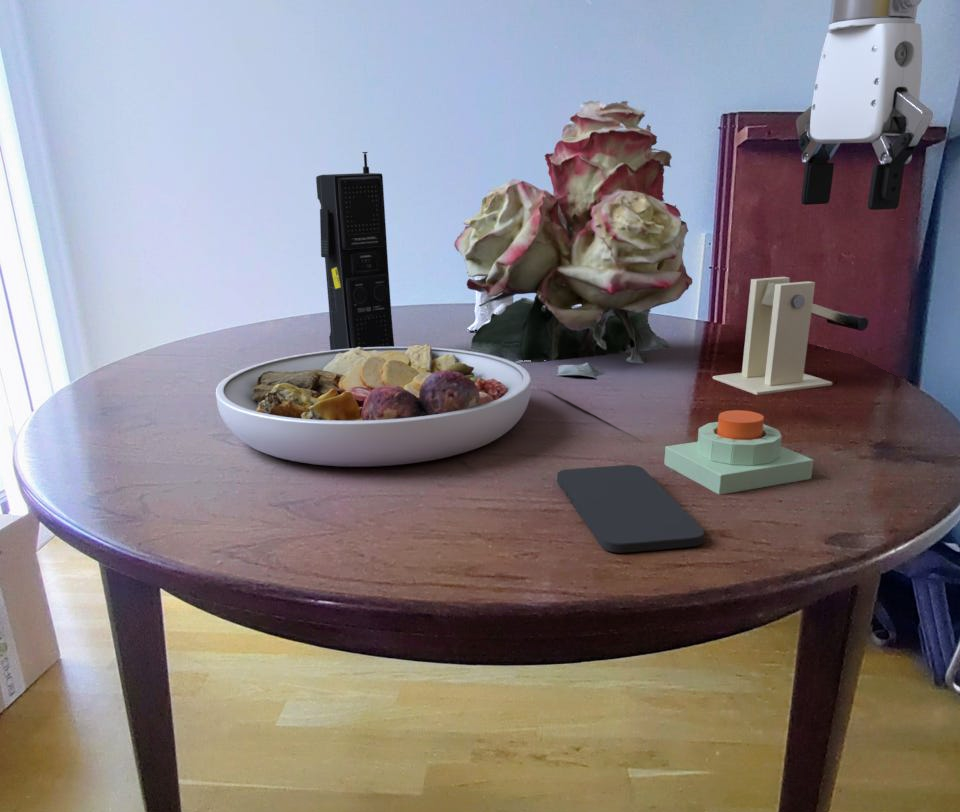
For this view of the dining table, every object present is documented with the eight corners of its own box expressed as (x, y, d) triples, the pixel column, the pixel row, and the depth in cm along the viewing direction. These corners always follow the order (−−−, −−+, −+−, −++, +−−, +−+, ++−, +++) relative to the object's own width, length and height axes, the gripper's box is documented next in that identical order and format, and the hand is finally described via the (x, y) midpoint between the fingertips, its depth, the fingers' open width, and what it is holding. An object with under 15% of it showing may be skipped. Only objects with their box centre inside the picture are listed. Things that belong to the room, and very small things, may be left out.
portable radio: (346, 369, 113) (330, 153, 103) (322, 362, 117) (304, 153, 107) (398, 360, 117) (388, 151, 107) (373, 353, 122) (360, 152, 112)
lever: (831, 328, 104) (839, 308, 103) (863, 336, 100) (872, 314, 99) (752, 302, 99) (760, 280, 98) (782, 309, 94) (790, 286, 94)
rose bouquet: (433, 364, 115) (423, 103, 103) (588, 332, 132) (595, 106, 121) (583, 402, 97) (592, 92, 85) (739, 359, 115) (764, 97, 103)
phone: (606, 545, 60) (553, 470, 74) (605, 556, 61) (552, 479, 74) (711, 536, 62) (640, 463, 75) (710, 547, 62) (639, 473, 75)
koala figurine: (460, 334, 132) (458, 249, 127) (463, 326, 138) (461, 244, 134) (517, 334, 132) (518, 248, 127) (518, 325, 138) (518, 243, 133)
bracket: (783, 377, 106) (795, 273, 101) (831, 392, 99) (847, 282, 94) (711, 386, 102) (720, 279, 98) (755, 403, 96) (768, 289, 91)
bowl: (171, 425, 91) (159, 347, 88) (412, 376, 109) (409, 310, 106) (326, 507, 70) (318, 408, 67) (594, 430, 88) (597, 349, 84)
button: (743, 428, 77) (745, 408, 76) (771, 439, 74) (773, 419, 73) (708, 433, 76) (709, 413, 75) (734, 445, 73) (736, 424, 72)
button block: (750, 451, 81) (754, 413, 79) (811, 479, 74) (816, 438, 73) (663, 464, 78) (666, 425, 76) (719, 495, 71) (722, 453, 70)
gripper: (980, -1, 78) (944, 209, 84) (841, 24, 93) (820, 201, 99) (911, -4, 75) (879, 213, 82) (780, 22, 90) (762, 203, 97)
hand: (847, 206), depth 91 cm, fingers open, 9 cm apart
